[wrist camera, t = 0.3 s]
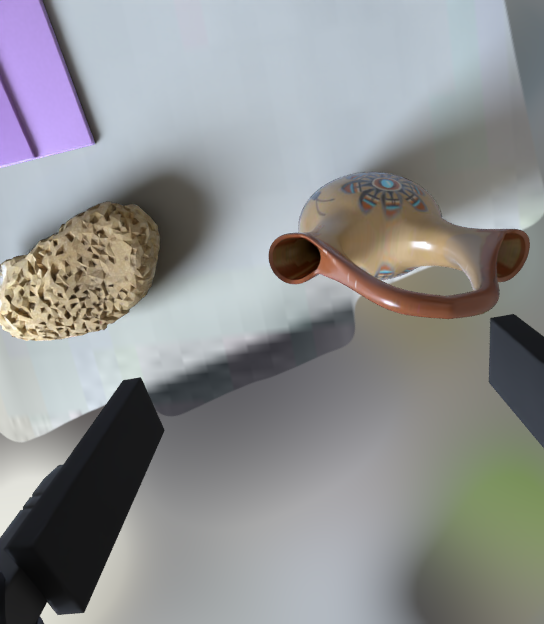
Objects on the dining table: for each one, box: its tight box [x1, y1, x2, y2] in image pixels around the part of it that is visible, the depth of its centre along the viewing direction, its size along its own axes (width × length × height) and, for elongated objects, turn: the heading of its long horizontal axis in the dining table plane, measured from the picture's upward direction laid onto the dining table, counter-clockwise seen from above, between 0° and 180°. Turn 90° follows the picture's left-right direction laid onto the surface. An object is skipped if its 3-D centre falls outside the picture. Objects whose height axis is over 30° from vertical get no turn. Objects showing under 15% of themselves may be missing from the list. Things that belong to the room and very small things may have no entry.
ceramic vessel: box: [269, 172, 530, 319], centre depth 27 cm, size 16×9×25 cm, turn 92°
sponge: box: [0, 202, 160, 341], centre depth 39 cm, size 13×8×20 cm
